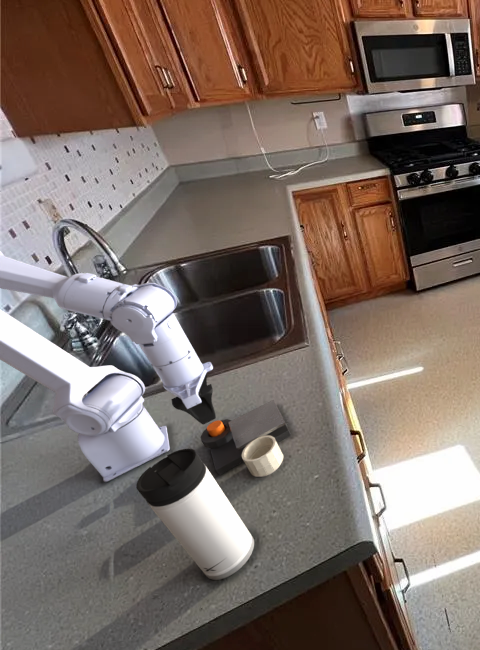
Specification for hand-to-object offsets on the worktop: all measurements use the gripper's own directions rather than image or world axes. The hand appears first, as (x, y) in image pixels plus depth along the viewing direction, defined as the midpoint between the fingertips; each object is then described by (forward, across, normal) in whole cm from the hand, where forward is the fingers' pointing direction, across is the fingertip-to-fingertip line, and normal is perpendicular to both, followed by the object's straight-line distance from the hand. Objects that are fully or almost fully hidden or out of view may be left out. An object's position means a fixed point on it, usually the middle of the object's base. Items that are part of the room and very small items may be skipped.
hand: (207, 413), depth 75 cm
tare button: (+5, 0, 0) cm, 5 cm away
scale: (+7, -3, -4) cm, 9 cm away
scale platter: (+4, -4, -6) cm, 8 cm away
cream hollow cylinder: (+7, -12, -5) cm, 15 cm away
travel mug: (+8, -25, +3) cm, 26 cm away
